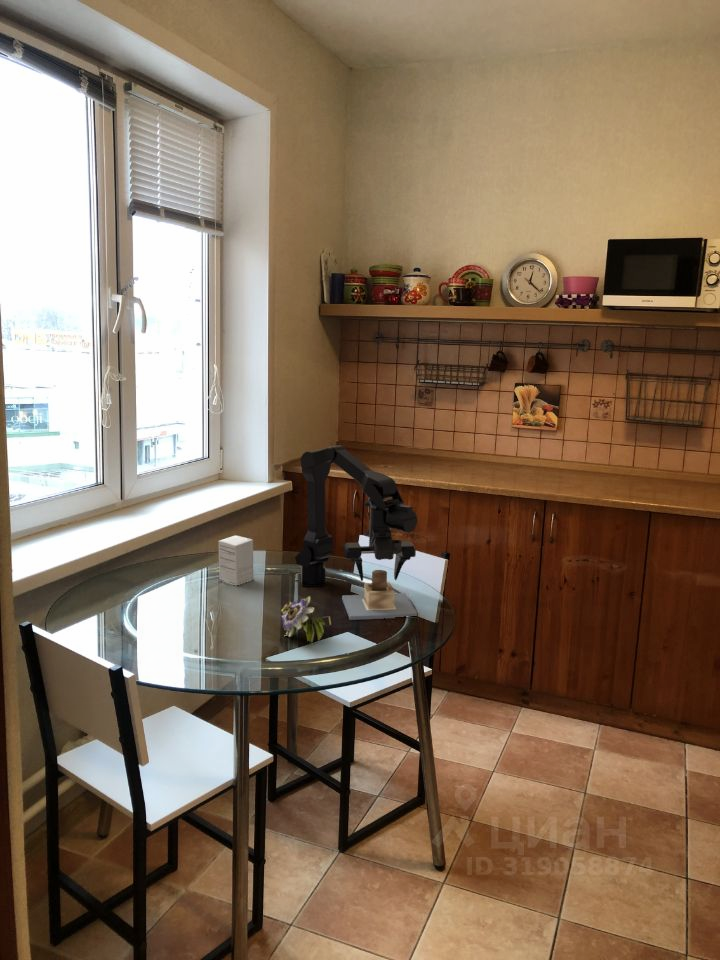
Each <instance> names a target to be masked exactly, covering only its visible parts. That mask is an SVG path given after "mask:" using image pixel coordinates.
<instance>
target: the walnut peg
mask: <svg viewBox="0 0 720 960" xmlns="http://www.w3.org/2000/svg"><path fill="white" fill-rule="evenodd" d="M387 582H388V572H387V571H386V570H384V569H374V570H372V572H371V583H372V591H387Z"/></svg>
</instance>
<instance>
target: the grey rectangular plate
mask: <svg viewBox="0 0 720 960" xmlns="http://www.w3.org/2000/svg"><path fill="white" fill-rule="evenodd" d="M341 600H342V602H343V605H344V608H345V610H346V614H347V615H348V619H349V620H350V621H356V620H358V621H359V620H382V619H383V620H384V618H385V619H396V618H395V617H404V616H417V617H418V612H417V611H416V608H415V607H414V606H413V604H412V602H411V600H410V599H409V597H408V596H407V593H405V592H404V593H402V592H400V593H399V592H398V593H395V597H394V608H388V609H368V607H367V605H366V603H365V601H364V594H350V595H349V594H347V595H346V594H345V595H342V596H341Z"/></svg>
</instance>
